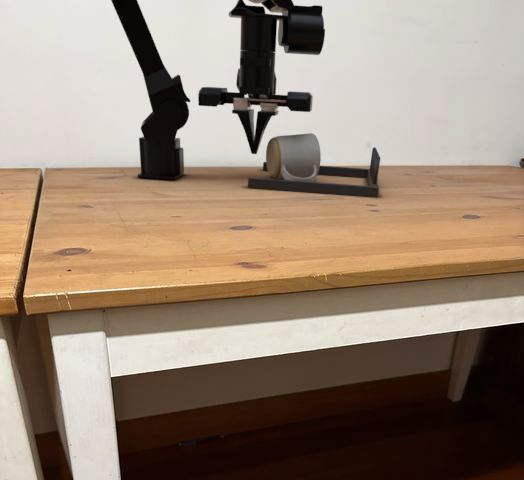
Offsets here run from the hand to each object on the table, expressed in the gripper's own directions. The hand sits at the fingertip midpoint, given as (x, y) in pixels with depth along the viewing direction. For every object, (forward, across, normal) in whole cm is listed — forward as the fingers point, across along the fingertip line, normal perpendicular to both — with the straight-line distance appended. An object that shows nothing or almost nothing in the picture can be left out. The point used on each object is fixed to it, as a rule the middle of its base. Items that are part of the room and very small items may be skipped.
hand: (254, 153), depth 92 cm
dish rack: (+4, -10, 0) cm, 11 cm away
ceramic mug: (+4, -8, 0) cm, 9 cm away
